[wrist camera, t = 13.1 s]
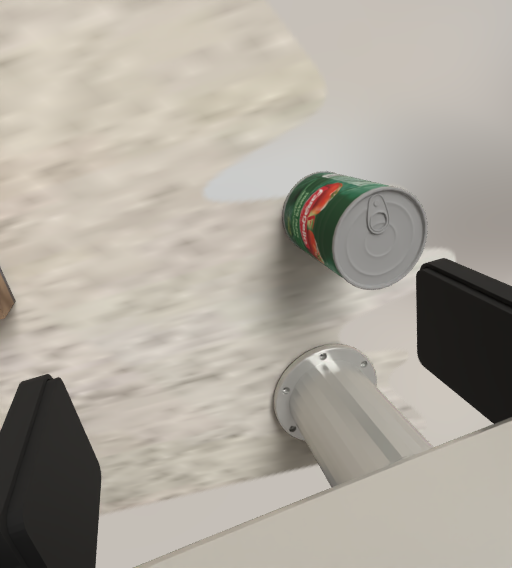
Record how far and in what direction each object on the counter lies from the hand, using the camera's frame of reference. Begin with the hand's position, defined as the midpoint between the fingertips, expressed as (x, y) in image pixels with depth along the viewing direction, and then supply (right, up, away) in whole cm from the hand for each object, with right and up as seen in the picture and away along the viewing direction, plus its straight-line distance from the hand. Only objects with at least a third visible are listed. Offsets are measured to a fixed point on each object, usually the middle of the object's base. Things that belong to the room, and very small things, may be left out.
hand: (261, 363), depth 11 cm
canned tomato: (+6, +9, +30) cm, 32 cm away
